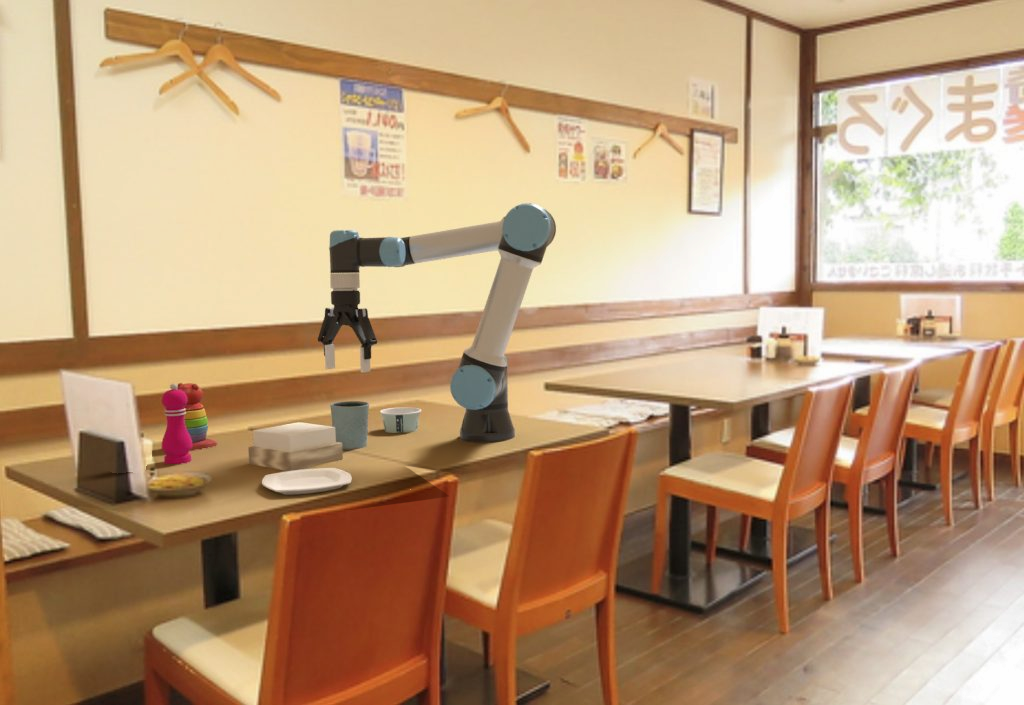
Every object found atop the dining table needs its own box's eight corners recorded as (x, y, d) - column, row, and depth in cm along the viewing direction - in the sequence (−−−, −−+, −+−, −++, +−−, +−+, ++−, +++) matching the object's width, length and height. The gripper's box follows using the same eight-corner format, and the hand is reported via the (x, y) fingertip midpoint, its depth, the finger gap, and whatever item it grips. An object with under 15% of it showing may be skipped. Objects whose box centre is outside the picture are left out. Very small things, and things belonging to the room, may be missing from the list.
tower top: (335, 443, 219) (335, 427, 219) (290, 452, 208) (289, 436, 208) (299, 437, 228) (298, 422, 228) (253, 446, 217) (253, 430, 216)
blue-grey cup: (333, 445, 240) (332, 401, 239) (371, 443, 241) (370, 400, 240) (330, 452, 230) (328, 407, 229) (369, 451, 231) (368, 405, 230)
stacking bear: (220, 445, 242) (217, 381, 241) (193, 452, 233) (189, 385, 232) (190, 443, 247) (187, 380, 245) (162, 450, 238) (159, 384, 236)
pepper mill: (157, 463, 221) (152, 383, 219) (184, 458, 227) (180, 380, 225) (170, 466, 216) (166, 385, 215) (198, 461, 222) (194, 382, 220)
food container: (424, 434, 253) (424, 412, 252) (382, 437, 250) (382, 414, 250) (418, 427, 265) (418, 406, 264) (378, 430, 262) (377, 408, 261)
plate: (269, 502, 182) (268, 493, 182) (256, 482, 200) (256, 474, 199) (361, 491, 189) (360, 482, 189) (341, 473, 207) (340, 465, 207)
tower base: (342, 462, 220) (342, 442, 219) (291, 475, 207) (290, 454, 207) (301, 455, 230) (300, 436, 229) (249, 467, 217) (248, 447, 216)
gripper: (389, 289, 227) (391, 371, 229) (324, 289, 242) (326, 366, 244) (368, 290, 221) (370, 374, 223) (302, 289, 236) (305, 368, 238)
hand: (347, 370), depth 234 cm, fingers open, 13 cm apart
